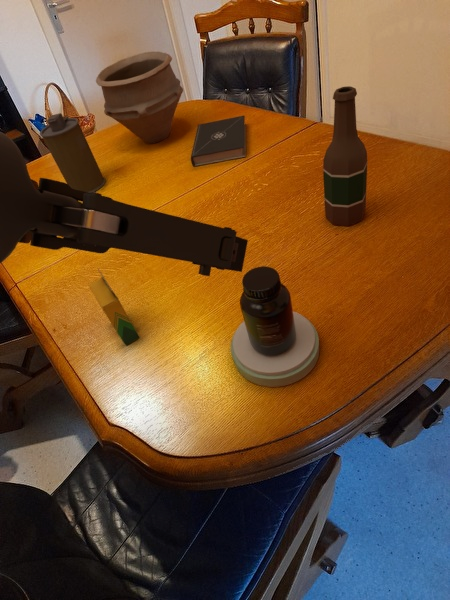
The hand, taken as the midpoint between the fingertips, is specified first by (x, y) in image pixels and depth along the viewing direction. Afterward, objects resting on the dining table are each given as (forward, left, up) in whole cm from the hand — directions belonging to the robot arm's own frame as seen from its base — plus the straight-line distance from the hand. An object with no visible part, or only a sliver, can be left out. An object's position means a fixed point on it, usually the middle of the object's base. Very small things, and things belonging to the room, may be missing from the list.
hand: (176, 244), depth 37 cm
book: (+29, -80, -28) cm, 89 cm away
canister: (+63, -59, -28) cm, 91 cm away
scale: (-4, -10, -28) cm, 30 cm away
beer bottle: (-10, -45, -28) cm, 54 cm away
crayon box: (+23, -10, -28) cm, 38 cm away
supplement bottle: (-4, -10, -25) cm, 27 cm away
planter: (+54, -88, -28) cm, 107 cm away
